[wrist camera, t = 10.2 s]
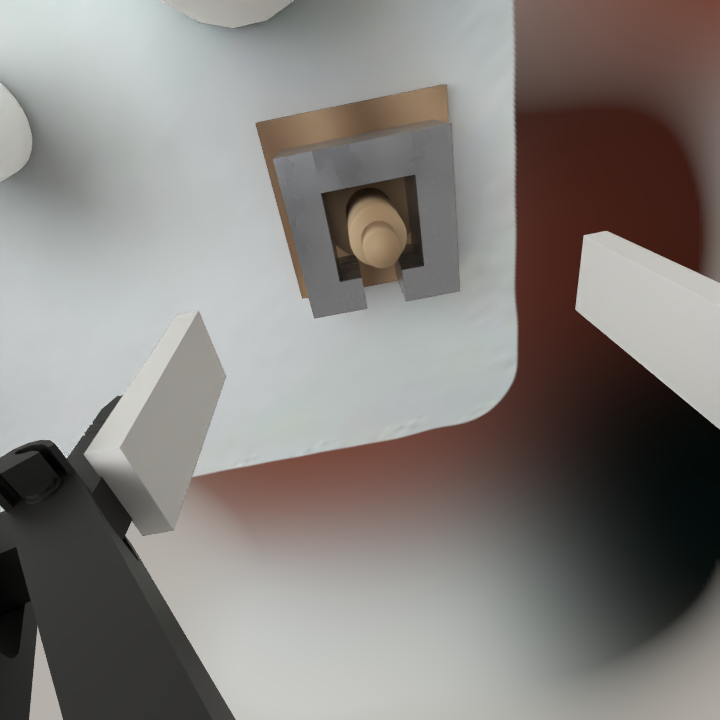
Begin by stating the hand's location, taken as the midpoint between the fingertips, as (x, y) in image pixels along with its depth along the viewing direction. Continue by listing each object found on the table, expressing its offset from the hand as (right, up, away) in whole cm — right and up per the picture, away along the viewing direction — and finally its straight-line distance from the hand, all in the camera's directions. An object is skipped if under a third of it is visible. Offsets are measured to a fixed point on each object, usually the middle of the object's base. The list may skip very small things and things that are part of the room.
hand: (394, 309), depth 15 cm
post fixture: (-1, +10, +16) cm, 19 cm away
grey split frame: (-1, +8, +13) cm, 15 cm away
